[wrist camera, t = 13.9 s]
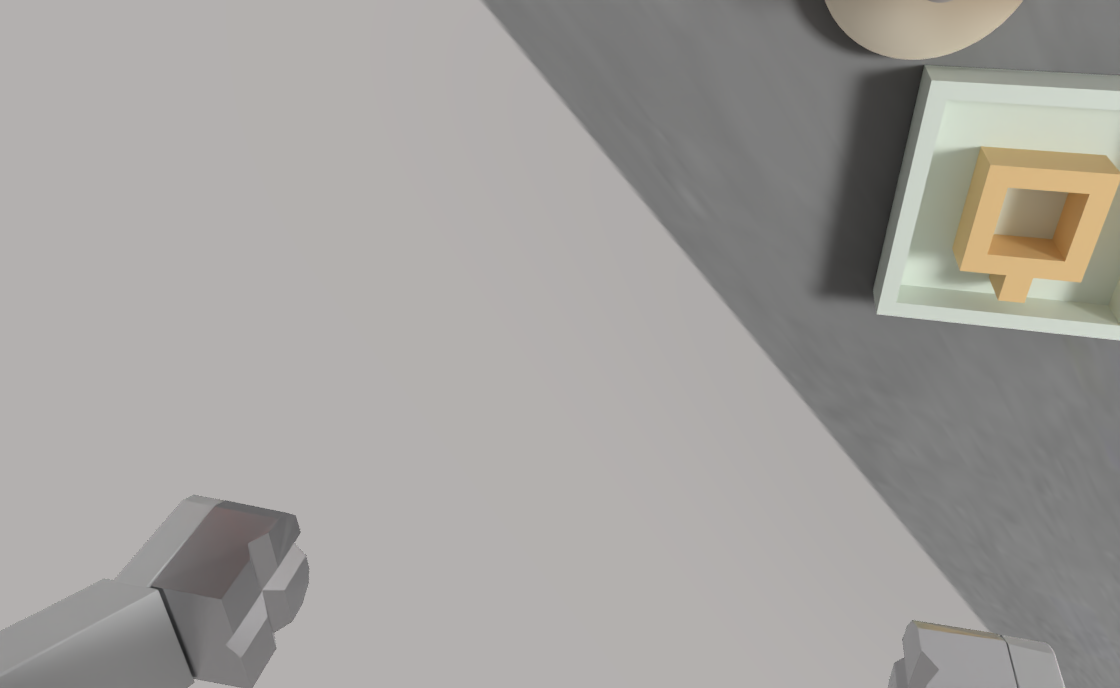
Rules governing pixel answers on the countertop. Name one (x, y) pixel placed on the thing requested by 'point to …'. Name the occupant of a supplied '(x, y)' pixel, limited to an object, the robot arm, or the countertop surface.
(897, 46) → the stand
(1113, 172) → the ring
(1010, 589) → the countertop surface
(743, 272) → the countertop surface
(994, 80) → the tray
